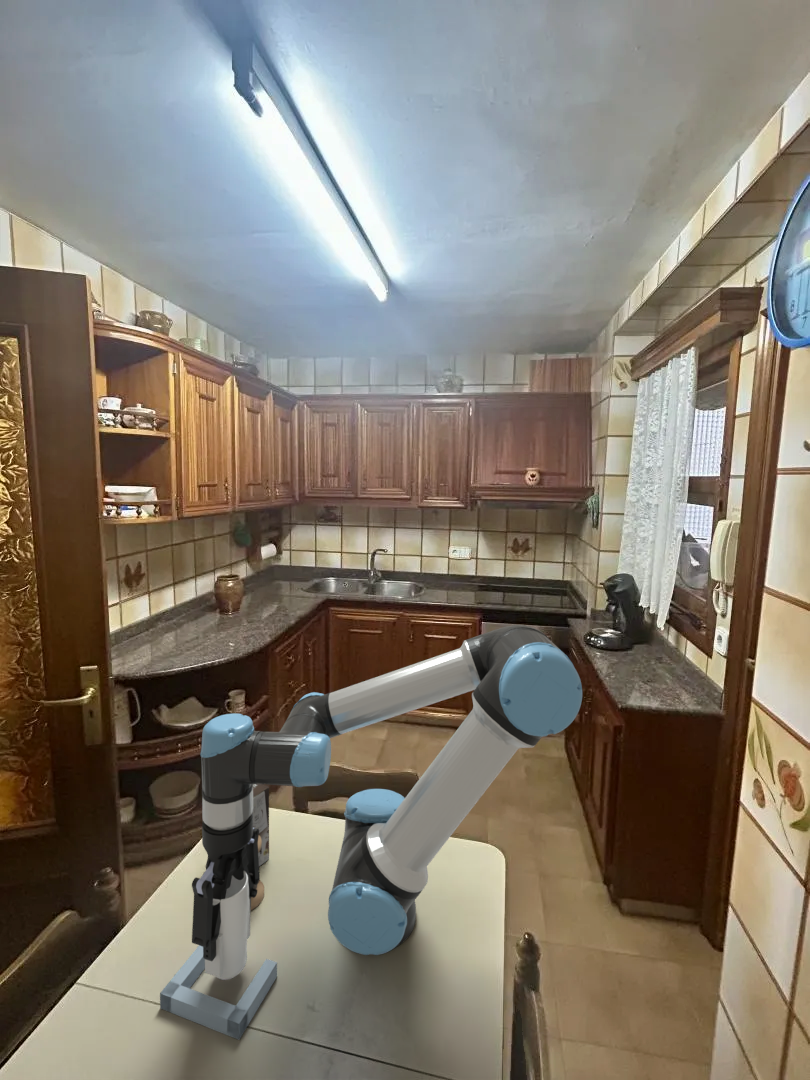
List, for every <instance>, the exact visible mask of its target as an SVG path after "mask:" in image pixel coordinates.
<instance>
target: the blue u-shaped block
mask: <svg viewBox="0 0 810 1080" xmlns="http://www.w3.org/2000/svg"><path fill="white" fill-rule="evenodd" d="M204 971H205V959H204V958H203V947H202V946H200V945H197V947H196V948H195V950H194V951H192V953H191V955H190V956H189V957H188V959H186V961H185V962H184V963H183V965H182V966H181V967H180V968H179V970H177V971H176V973H175V974H174V975H173V977H172V978H171V979H170V981H168V983H167V984H166V985H165V987H163V989H162V990H161V991H160V993H159V997H160V998H159V1005H160V1006H159V1009H160V1010H163V1011H166V1012H168V1013H171V1014H173V1015H176V1016H179V1017H180V1018H183V1019H186V1020H188V1021H190V1022H194V1023H195V1024H197V1025H198V1024H199V1025H201V1026H204V1027H206V1028H208V1029H210V1030H213V1031H216V1032H218V1033H221V1034H223V1035H226V1036H228V1037H231V1038H233V1039H236V1040H239V1041H240V1039H241V1038H242V1036H243V1034H244V1032H245V1031H246V1029H247V1028H248V1026H249V1024H250V1023H251V1022H252V1020H253V1018H254V1016H255V1015H256V1013H257V1012H258V1010H259V1008H260V1006H261V1004H262V1003H263V1001H264V1000H265V998H266V997H267V994H268V993H269V991H270V989H271V987H272V986H273V984H274V982H275V981H276V979H277V977H278V962H277V961H274V960H271V959H268V958H266V959H265V960H264V962H263V963H262V965H261V967H260V968H259V970H258V971H257V973H256V974H255V975H254V977H253V978H252V980H251V981H250V983H249V985H248V986H247V988H246V989H245V991H244V992H243V994H242V996H241V998H240V999H239V1000H238V1002H237V1003H236V1005H235V1004H233V1003H229V1002H227V1001H224V1000H221V999H219V998H216V997H213V996H211V995H208V994H205V993H202V992H200V991H197V990H194V989H192V988H191V987H192V986H193V985H194V983H195V982H196V981H197V980H198V979H199V977H200V975H201V974H202V973H203V972H204Z"/></svg>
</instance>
